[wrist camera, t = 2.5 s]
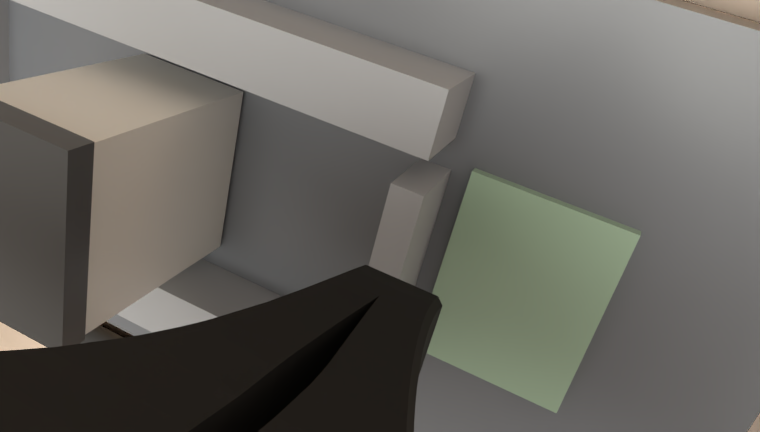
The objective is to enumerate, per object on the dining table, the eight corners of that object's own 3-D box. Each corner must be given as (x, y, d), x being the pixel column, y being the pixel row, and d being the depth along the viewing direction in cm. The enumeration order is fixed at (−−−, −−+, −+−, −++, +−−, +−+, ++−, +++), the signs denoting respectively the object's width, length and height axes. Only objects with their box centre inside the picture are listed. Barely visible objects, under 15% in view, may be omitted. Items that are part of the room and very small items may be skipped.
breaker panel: (935, 73, 10) (1014, 117, 8) (642, 542, 15) (633, 663, 13) (-162, -246, 17) (-319, -280, 14) (-118, 164, 21) (-228, 195, 19)
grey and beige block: (245, 90, 13) (68, 150, 10) (221, 249, 15) (62, 355, 11) (143, 50, 14) (-64, 92, 10) (130, 207, 16) (-51, 294, 12)
